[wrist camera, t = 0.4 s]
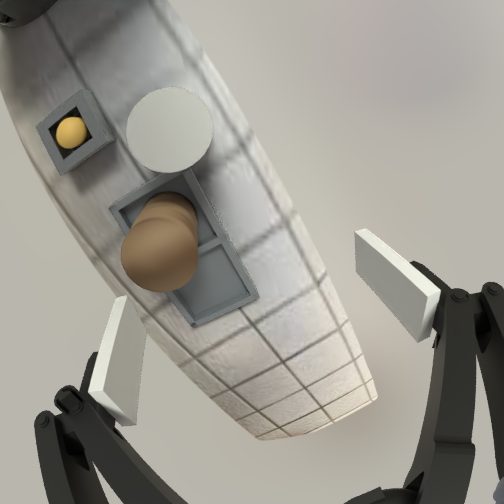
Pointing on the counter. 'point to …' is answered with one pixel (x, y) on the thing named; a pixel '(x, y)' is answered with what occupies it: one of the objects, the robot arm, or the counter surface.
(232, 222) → the counter surface
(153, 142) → the white stubby cylinder
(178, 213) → the ball
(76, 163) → the grey square holder
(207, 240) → the grey divided tray
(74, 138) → the button
